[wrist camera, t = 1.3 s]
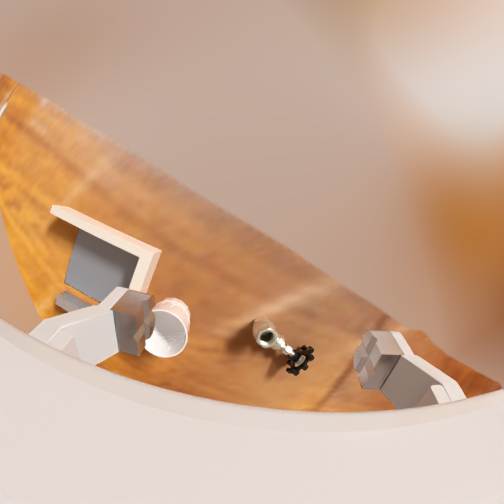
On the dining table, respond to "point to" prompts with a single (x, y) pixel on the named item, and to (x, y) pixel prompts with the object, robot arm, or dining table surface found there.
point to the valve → (280, 344)
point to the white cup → (169, 328)
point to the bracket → (72, 301)
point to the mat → (99, 266)
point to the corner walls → (116, 244)
